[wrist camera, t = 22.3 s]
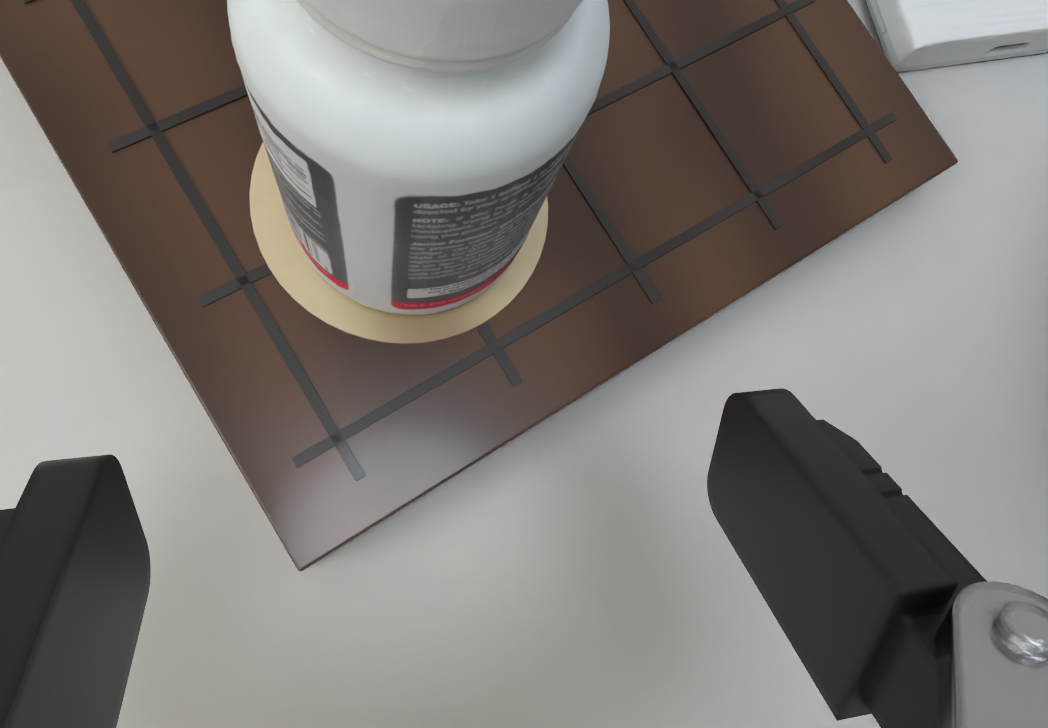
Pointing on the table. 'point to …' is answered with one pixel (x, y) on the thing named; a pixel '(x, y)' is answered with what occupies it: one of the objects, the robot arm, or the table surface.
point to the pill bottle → (417, 131)
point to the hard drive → (958, 30)
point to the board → (532, 278)
